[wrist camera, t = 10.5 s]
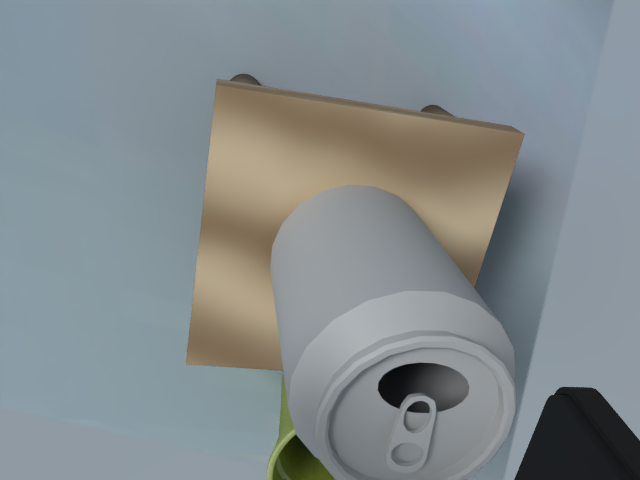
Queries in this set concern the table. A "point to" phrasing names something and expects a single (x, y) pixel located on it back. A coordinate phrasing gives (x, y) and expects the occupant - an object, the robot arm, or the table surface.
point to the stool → (319, 175)
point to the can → (386, 343)
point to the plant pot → (293, 452)
